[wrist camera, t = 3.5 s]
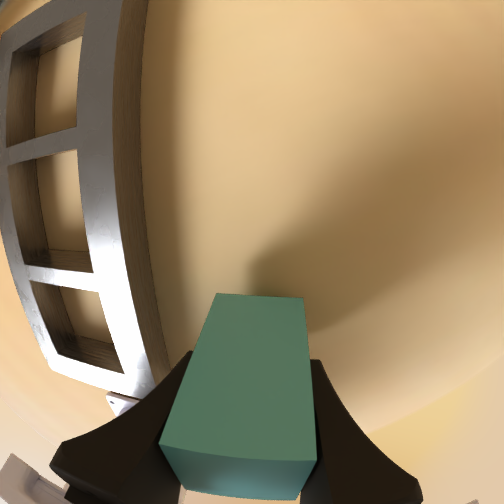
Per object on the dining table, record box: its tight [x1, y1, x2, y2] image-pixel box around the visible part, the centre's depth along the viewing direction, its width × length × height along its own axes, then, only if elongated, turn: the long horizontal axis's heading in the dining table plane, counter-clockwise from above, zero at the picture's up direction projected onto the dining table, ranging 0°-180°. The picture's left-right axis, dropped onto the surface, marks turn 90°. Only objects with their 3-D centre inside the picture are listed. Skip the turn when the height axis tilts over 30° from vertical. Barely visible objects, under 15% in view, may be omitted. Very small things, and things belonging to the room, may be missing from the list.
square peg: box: [159, 293, 317, 500], centre depth 10 cm, size 4×4×8 cm
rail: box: [0, 0, 171, 399], centre depth 12 cm, size 24×10×2 cm, turn 0°
